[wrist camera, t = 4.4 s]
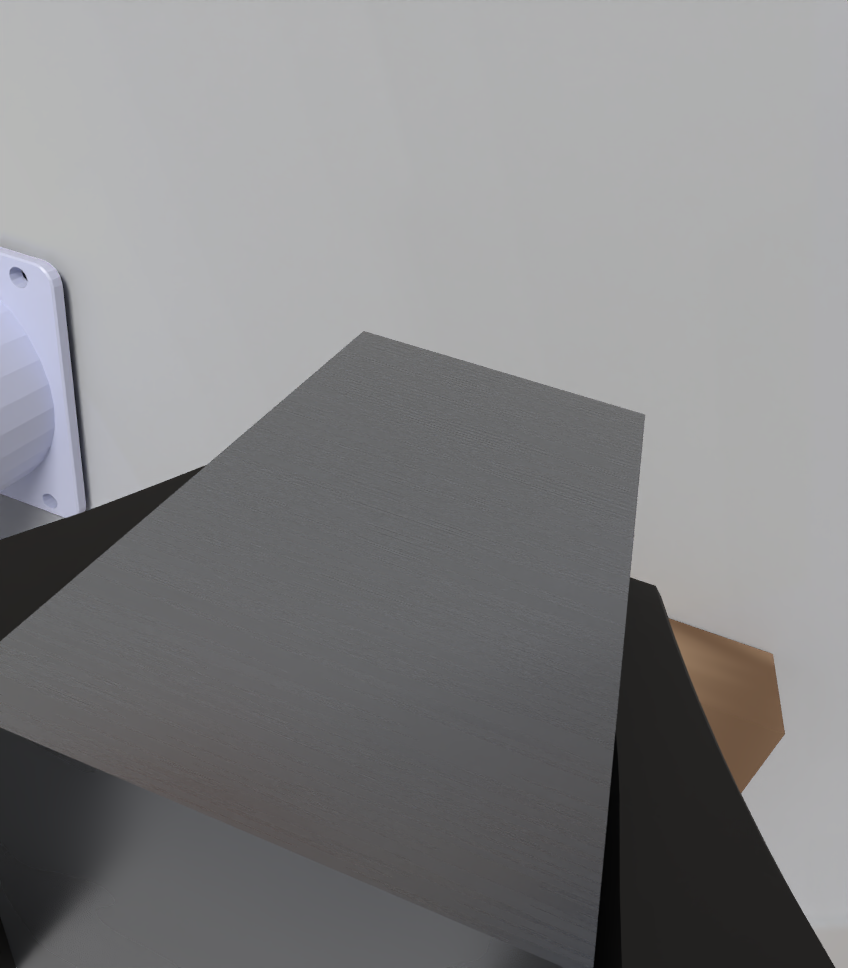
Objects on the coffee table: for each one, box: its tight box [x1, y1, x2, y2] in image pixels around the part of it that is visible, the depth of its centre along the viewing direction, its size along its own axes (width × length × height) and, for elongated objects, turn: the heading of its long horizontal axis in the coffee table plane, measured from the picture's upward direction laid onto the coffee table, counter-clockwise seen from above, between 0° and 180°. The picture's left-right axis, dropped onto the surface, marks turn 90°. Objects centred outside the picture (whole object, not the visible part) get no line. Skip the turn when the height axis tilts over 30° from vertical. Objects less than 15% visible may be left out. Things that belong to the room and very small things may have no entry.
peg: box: [0, 331, 645, 968], centre depth 8 cm, size 4×4×7 cm
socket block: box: [668, 618, 785, 793], centre depth 20 cm, size 11×11×2 cm
